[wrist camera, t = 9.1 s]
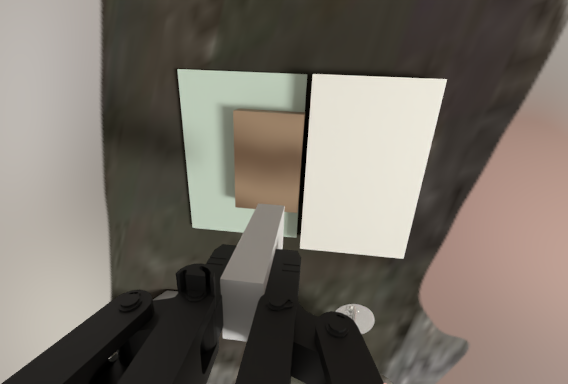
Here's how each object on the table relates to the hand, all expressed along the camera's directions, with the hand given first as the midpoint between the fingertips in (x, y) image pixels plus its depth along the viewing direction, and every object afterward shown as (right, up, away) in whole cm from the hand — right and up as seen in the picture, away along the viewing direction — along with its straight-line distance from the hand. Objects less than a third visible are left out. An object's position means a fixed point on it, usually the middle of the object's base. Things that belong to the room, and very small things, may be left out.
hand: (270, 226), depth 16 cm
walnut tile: (-1, +5, +11) cm, 12 cm away
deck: (+8, +4, +10) cm, 14 cm away
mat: (-3, +5, +11) cm, 13 cm away
